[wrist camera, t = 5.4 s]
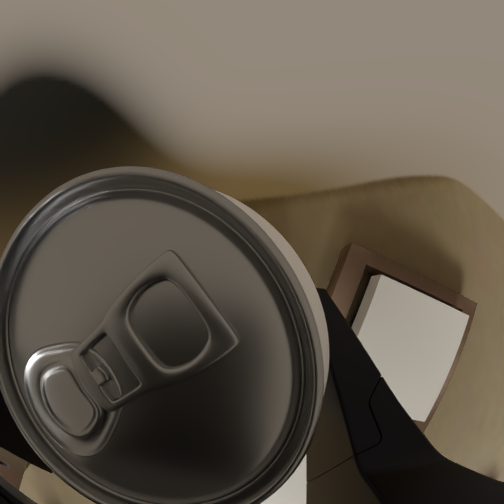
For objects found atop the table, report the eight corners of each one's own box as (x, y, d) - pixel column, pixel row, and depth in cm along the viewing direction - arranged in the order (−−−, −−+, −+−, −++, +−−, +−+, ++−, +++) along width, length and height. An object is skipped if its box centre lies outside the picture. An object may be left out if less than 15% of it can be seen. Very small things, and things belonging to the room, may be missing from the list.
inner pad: (346, 510, 12) (351, 522, 11) (258, 493, 13) (258, 507, 12) (398, 440, 13) (407, 450, 12) (307, 417, 14) (310, 429, 12)
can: (147, 302, 15) (-46, 301, 3) (237, 230, 16) (163, 69, 4) (217, 395, 14) (124, 557, 2) (312, 325, 15) (442, 407, 3)
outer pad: (413, 413, 13) (424, 421, 12) (323, 387, 14) (328, 397, 12) (455, 314, 14) (469, 315, 12) (371, 276, 15) (381, 274, 13)
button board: (350, 507, 14) (356, 522, 12) (230, 480, 15) (226, 497, 13) (460, 303, 16) (477, 303, 14) (342, 248, 17) (352, 242, 15)
